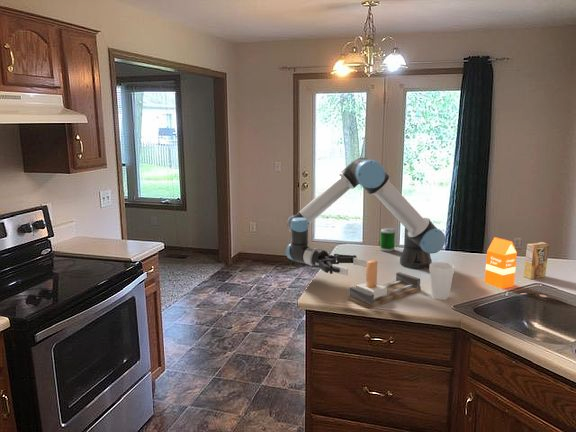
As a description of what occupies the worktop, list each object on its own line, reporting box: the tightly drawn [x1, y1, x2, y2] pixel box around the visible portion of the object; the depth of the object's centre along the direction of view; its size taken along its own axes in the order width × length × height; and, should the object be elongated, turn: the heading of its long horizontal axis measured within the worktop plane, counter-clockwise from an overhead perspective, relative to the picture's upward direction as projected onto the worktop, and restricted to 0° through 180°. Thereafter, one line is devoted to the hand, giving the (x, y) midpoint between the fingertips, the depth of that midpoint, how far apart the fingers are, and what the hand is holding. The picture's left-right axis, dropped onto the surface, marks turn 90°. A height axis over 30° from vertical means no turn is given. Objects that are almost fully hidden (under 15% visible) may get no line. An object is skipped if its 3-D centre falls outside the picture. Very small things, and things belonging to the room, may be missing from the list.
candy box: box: [523, 241, 550, 280], centre depth 205 cm, size 9×4×15 cm, turn 110°
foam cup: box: [428, 261, 455, 301], centre depth 183 cm, size 10×9×13 cm
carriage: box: [355, 259, 387, 299], centre depth 181 cm, size 8×9×13 cm
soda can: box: [379, 227, 396, 253], centre depth 250 cm, size 8×8×12 cm
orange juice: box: [484, 236, 518, 290], centre depth 196 cm, size 8×9×20 cm
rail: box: [348, 271, 422, 309], centre depth 187 cm, size 31×11×5 cm, turn 127°
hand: (357, 267), depth 184 cm, fingers open, 13 cm apart
